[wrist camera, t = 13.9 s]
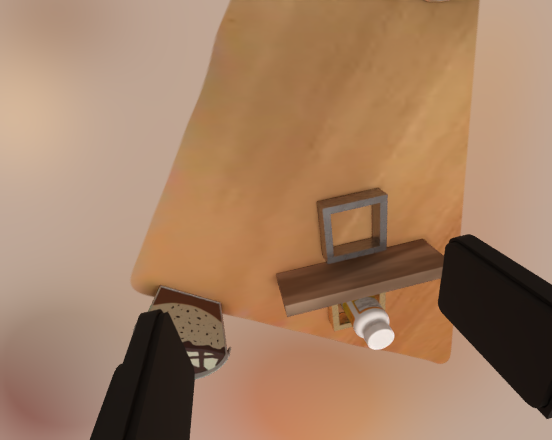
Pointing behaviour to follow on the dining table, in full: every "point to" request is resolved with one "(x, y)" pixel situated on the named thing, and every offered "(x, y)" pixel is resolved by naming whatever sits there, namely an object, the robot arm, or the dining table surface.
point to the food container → (196, 327)
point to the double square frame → (354, 248)
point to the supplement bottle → (369, 321)
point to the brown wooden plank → (359, 277)
